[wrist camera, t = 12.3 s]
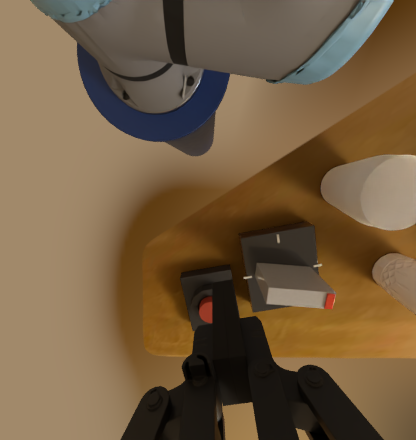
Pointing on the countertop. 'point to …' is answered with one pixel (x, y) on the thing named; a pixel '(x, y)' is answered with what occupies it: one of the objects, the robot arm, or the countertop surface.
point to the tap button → (201, 289)
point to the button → (206, 309)
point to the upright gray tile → (293, 286)
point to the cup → (375, 190)
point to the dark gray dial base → (276, 254)
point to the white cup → (397, 278)
